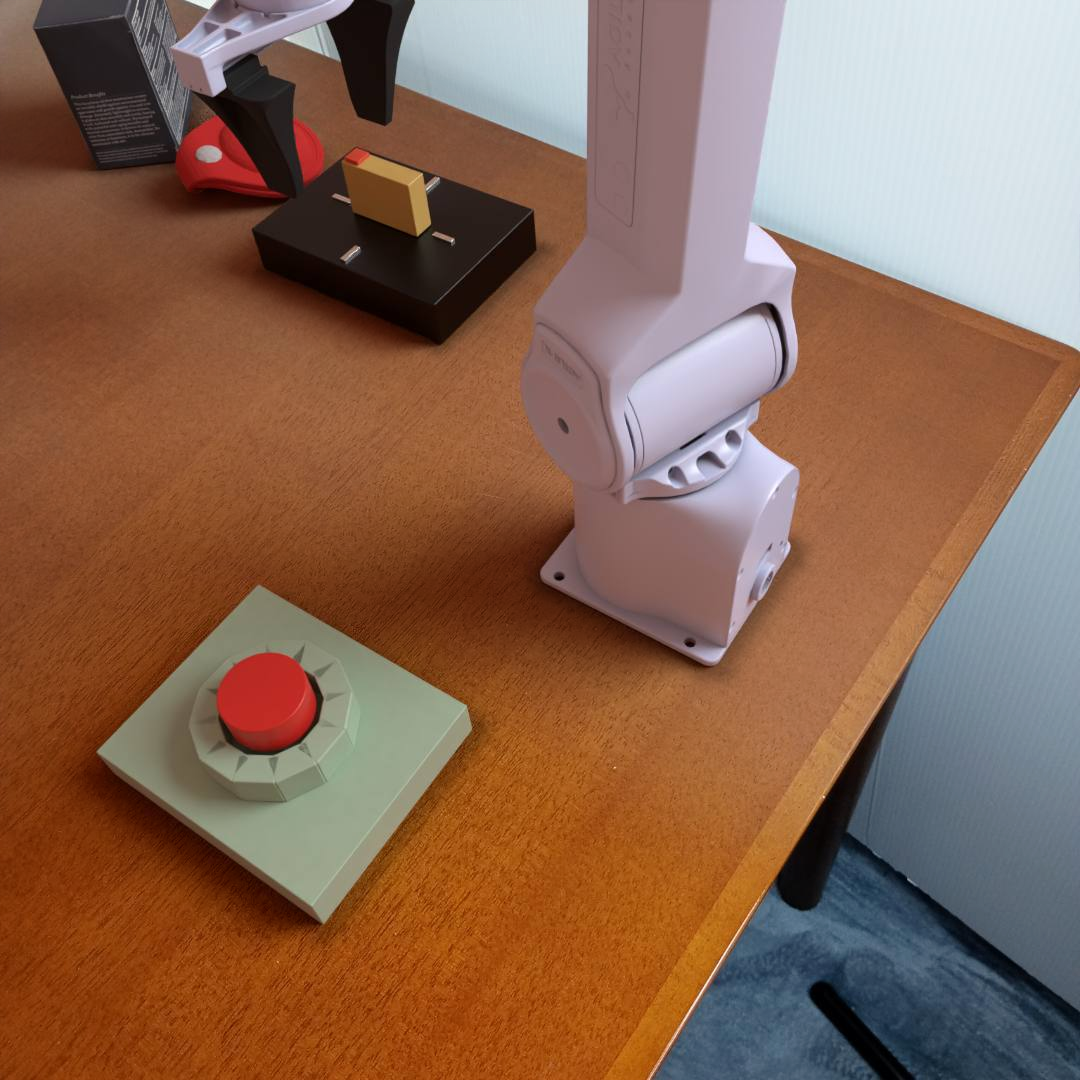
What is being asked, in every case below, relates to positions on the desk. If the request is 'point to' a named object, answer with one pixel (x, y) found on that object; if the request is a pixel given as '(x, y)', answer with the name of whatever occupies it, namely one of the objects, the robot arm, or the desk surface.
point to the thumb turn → (386, 192)
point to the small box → (118, 76)
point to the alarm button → (266, 701)
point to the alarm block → (292, 754)
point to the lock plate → (399, 251)
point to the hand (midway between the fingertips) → (331, 153)
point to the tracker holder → (237, 160)
